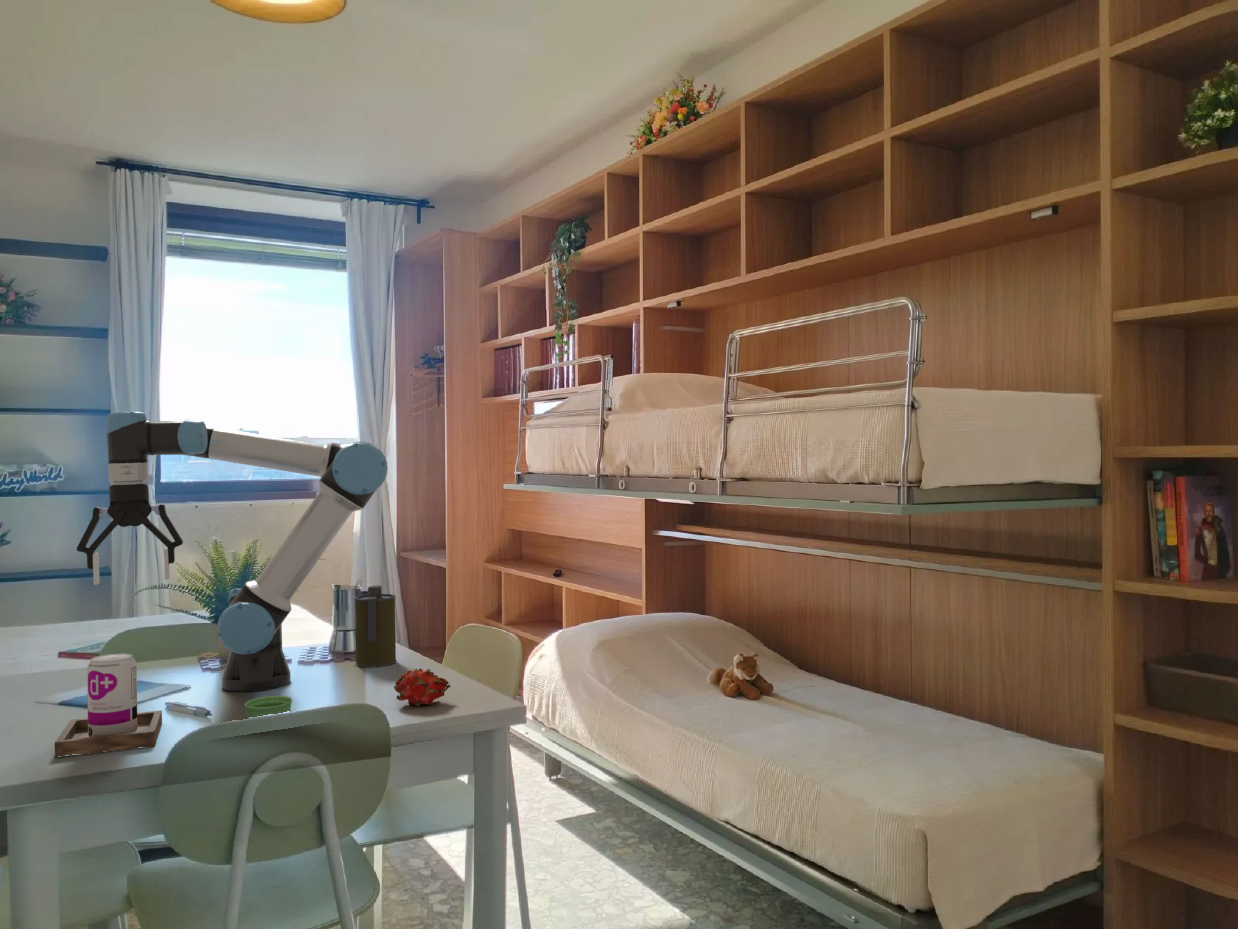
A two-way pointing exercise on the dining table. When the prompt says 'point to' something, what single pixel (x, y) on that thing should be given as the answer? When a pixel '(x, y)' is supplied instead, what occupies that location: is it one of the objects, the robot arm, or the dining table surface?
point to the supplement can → (112, 694)
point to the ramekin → (267, 706)
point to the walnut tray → (108, 736)
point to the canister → (375, 628)
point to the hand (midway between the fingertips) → (132, 581)
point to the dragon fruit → (420, 687)
